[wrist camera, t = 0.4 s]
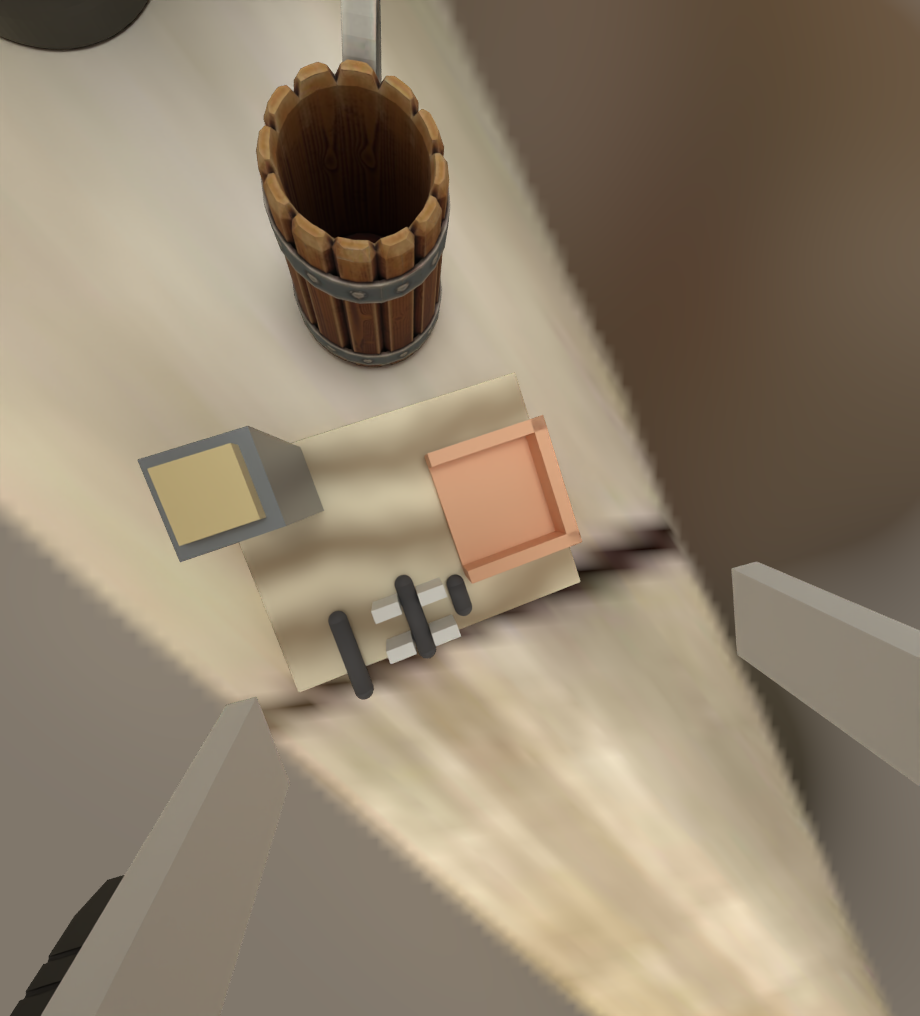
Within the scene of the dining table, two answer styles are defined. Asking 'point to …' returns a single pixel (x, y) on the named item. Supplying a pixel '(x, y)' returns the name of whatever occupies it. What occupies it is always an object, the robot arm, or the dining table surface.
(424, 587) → the cable clips
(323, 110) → the mug
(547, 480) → the end holder
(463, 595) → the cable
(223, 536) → the grey tall block
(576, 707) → the dining table surface
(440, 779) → the dining table surface
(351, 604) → the board
